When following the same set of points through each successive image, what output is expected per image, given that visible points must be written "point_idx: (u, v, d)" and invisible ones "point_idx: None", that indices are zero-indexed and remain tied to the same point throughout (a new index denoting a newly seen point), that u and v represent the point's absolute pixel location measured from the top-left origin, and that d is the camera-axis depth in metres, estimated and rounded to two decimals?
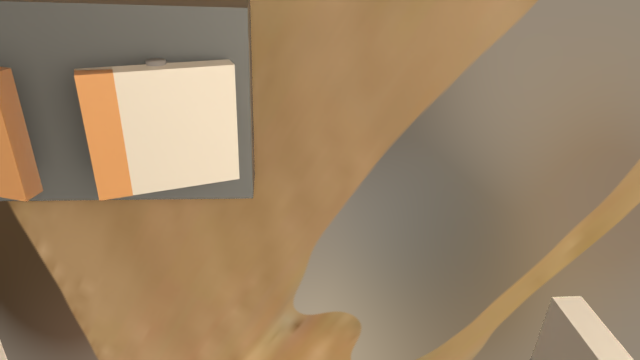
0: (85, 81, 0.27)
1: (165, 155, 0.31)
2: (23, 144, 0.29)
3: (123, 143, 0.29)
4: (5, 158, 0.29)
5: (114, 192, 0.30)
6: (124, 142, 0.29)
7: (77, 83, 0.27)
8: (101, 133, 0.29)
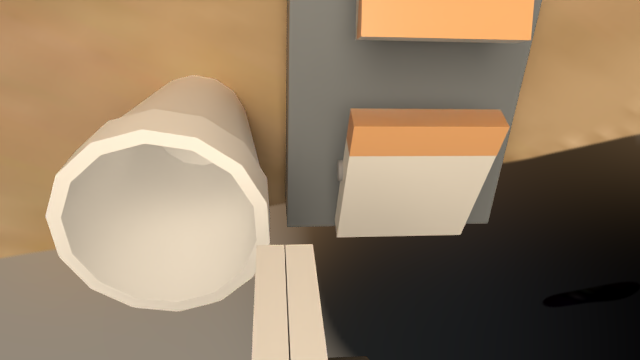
0: (369, 24, 0.22)
1: None
2: (438, 115, 0.25)
3: None
4: (451, 135, 0.25)
5: (522, 19, 0.22)
6: None
7: (371, 34, 0.22)
8: (438, 19, 0.22)
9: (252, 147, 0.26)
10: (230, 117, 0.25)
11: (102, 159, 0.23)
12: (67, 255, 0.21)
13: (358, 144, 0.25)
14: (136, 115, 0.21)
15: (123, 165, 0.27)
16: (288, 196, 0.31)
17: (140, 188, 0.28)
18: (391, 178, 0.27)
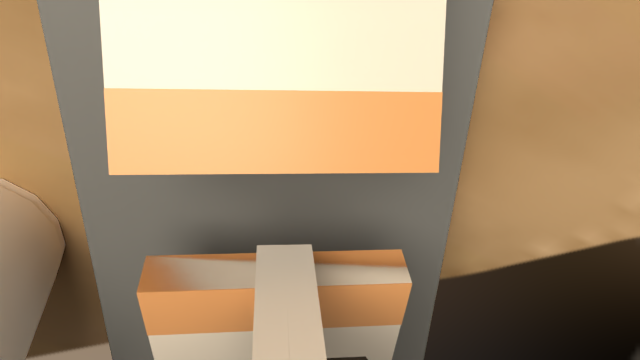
0: (124, 152, 0.11)
1: None
2: None
3: (294, 93, 0.12)
4: None
5: (422, 135, 0.12)
6: (291, 90, 0.12)
7: (128, 170, 0.11)
8: (260, 139, 0.12)
9: None
10: None
11: None
12: None
13: (155, 318, 0.14)
14: None
15: None
16: (113, 355, 0.21)
17: None
18: None
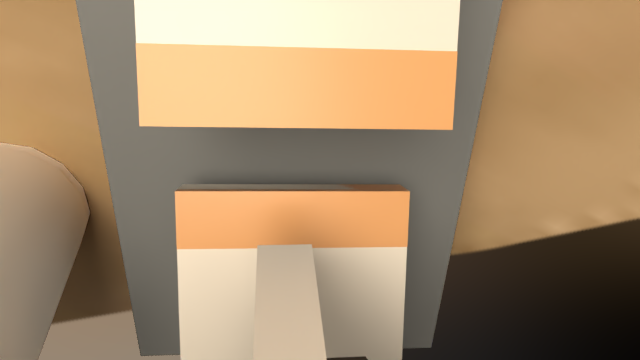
0: (153, 105, 0.12)
1: None
2: (308, 186, 0.17)
3: (315, 50, 0.12)
4: (327, 208, 0.17)
5: (437, 93, 0.12)
6: (312, 47, 0.12)
7: (157, 122, 0.12)
8: (282, 94, 0.12)
9: (20, 281, 0.16)
10: None
11: None
12: None
13: (187, 225, 0.16)
14: None
15: None
16: (135, 317, 0.22)
17: None
18: (252, 295, 0.17)
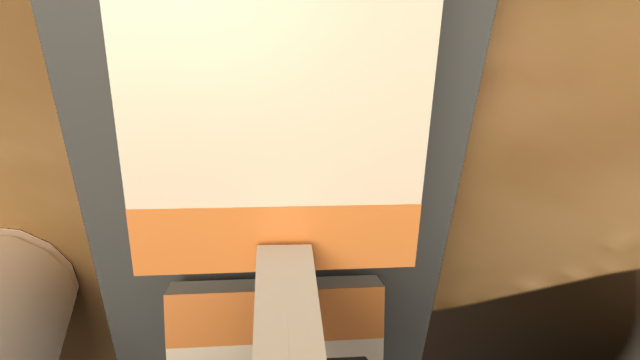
0: (145, 259, 0.13)
1: (336, 124, 0.12)
2: None
3: (291, 208, 0.13)
4: None
5: (401, 239, 0.14)
6: (288, 206, 0.13)
7: (150, 272, 0.13)
8: None
9: None
10: None
11: None
12: None
13: (175, 326, 0.17)
14: None
15: None
16: None
17: None
18: None
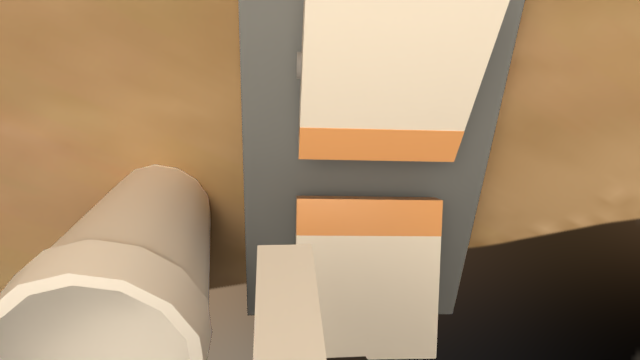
0: (306, 151, 0.24)
1: (424, 90, 0.22)
2: (377, 197, 0.27)
3: (390, 130, 0.23)
4: (390, 210, 0.26)
5: (449, 148, 0.24)
6: (389, 129, 0.23)
7: (307, 158, 0.24)
8: (370, 148, 0.24)
9: (200, 257, 0.25)
10: (178, 228, 0.25)
11: None
12: None
13: (303, 220, 0.26)
14: (71, 246, 0.21)
15: None
16: (247, 287, 0.31)
17: None
18: (342, 266, 0.26)
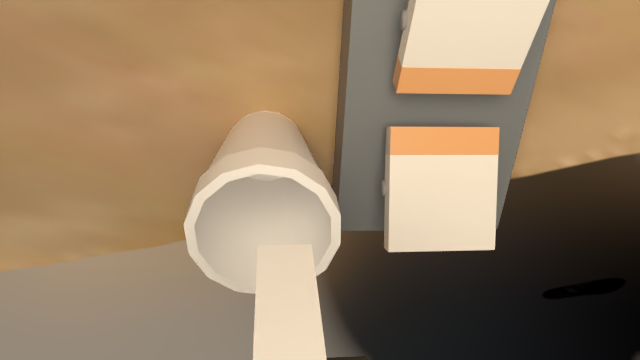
0: (403, 86, 0.32)
1: (495, 36, 0.30)
2: None
3: (467, 69, 0.31)
4: (460, 135, 0.35)
5: (508, 83, 0.32)
6: (466, 68, 0.31)
7: (403, 92, 0.32)
8: (450, 83, 0.32)
9: None
10: (304, 148, 0.33)
11: None
12: (194, 253, 0.29)
13: (395, 143, 0.34)
14: (247, 151, 0.29)
15: None
16: None
17: (228, 201, 0.36)
18: (424, 179, 0.35)
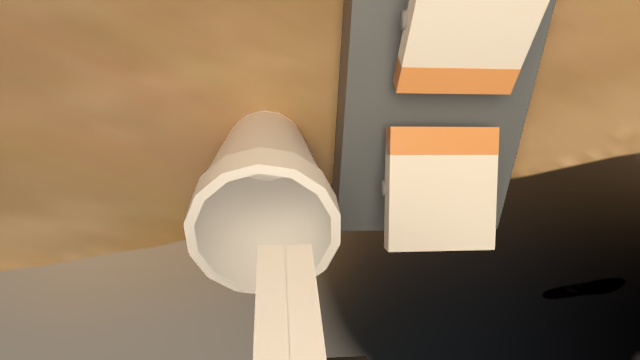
0: (403, 86, 0.32)
1: (495, 36, 0.30)
2: None
3: (467, 69, 0.31)
4: (460, 135, 0.35)
5: (508, 83, 0.32)
6: (466, 68, 0.31)
7: (403, 92, 0.32)
8: (450, 83, 0.32)
9: None
10: (304, 148, 0.33)
11: None
12: (194, 253, 0.29)
13: (395, 143, 0.34)
14: (247, 151, 0.29)
15: None
16: None
17: (227, 201, 0.36)
18: (424, 179, 0.35)
